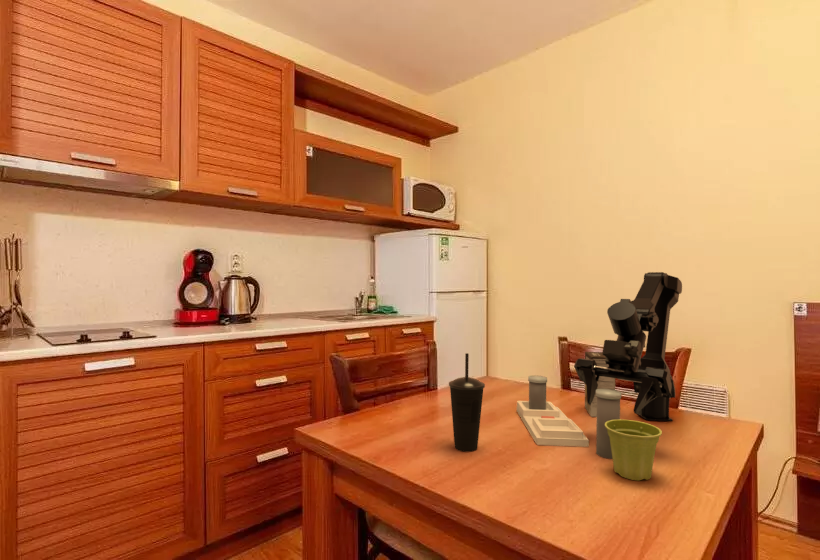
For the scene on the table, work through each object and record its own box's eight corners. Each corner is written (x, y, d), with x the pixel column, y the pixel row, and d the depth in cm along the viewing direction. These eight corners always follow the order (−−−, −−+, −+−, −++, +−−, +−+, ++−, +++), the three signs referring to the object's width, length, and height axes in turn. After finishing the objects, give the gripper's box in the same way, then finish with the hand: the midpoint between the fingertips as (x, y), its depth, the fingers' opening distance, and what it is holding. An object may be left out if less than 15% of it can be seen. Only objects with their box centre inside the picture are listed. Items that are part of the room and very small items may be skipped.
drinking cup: (486, 443, 95) (487, 352, 95) (480, 456, 87) (481, 357, 88) (452, 439, 97) (453, 349, 97) (444, 451, 90) (445, 355, 90)
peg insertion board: (557, 412, 118) (557, 373, 118) (588, 446, 93) (589, 398, 93) (516, 411, 119) (516, 372, 119) (536, 444, 94) (537, 396, 94)
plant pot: (660, 491, 74) (660, 439, 74) (600, 477, 79) (601, 429, 79) (662, 471, 82) (662, 424, 82) (608, 459, 87) (608, 416, 87)
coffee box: (583, 407, 124) (584, 351, 124) (607, 408, 122) (608, 352, 123) (590, 417, 115) (590, 356, 115) (616, 418, 113) (616, 357, 114)
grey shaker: (615, 450, 91) (615, 388, 92) (624, 459, 87) (625, 394, 87) (591, 449, 92) (592, 388, 92) (600, 458, 87) (600, 394, 87)
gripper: (577, 323, 101) (556, 377, 93) (668, 329, 88) (653, 393, 80) (590, 353, 107) (571, 407, 98) (677, 364, 94) (664, 426, 86)
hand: (611, 407), depth 91 cm, fingers open, 9 cm apart
